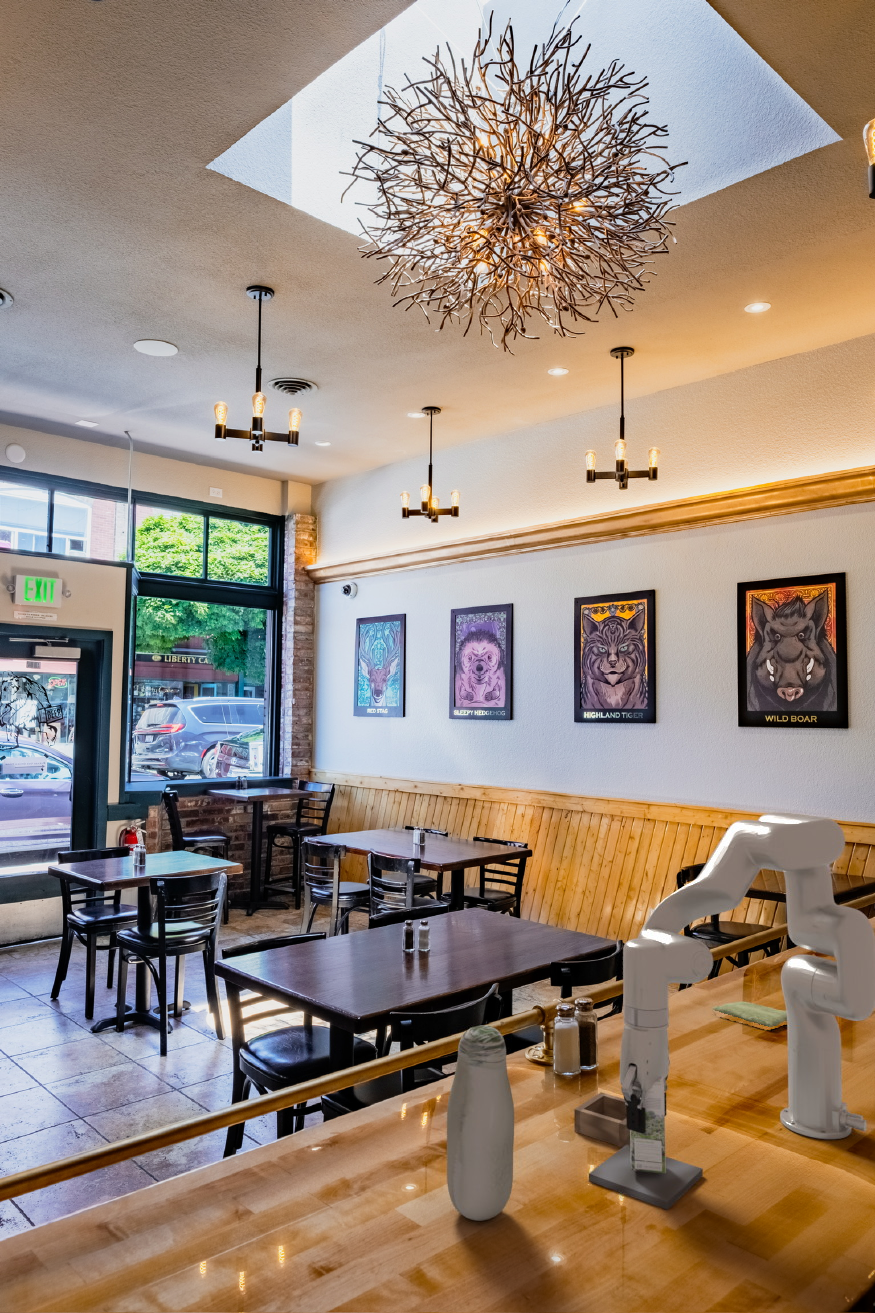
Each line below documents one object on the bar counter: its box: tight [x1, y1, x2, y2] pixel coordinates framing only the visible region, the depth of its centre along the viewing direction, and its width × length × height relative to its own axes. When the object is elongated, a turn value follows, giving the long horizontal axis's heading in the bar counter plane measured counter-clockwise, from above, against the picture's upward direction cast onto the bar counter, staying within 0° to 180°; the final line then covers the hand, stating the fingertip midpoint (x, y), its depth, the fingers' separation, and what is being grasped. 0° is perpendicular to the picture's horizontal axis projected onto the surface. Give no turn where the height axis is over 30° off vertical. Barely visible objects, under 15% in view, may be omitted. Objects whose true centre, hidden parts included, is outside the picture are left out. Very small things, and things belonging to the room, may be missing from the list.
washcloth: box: [712, 1001, 787, 1027], centre depth 236 cm, size 13×18×3 cm
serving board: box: [588, 1144, 704, 1210], centre depth 152 cm, size 14×14×1 cm
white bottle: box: [446, 1024, 515, 1222], centre depth 141 cm, size 10×10×28 cm
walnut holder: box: [573, 1091, 631, 1148], centre depth 170 cm, size 10×10×4 cm
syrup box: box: [630, 1077, 666, 1173], centre depth 152 cm, size 6×6×14 cm
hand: (646, 1122), depth 152 cm, fingers closed on syrup box, 7 cm apart
